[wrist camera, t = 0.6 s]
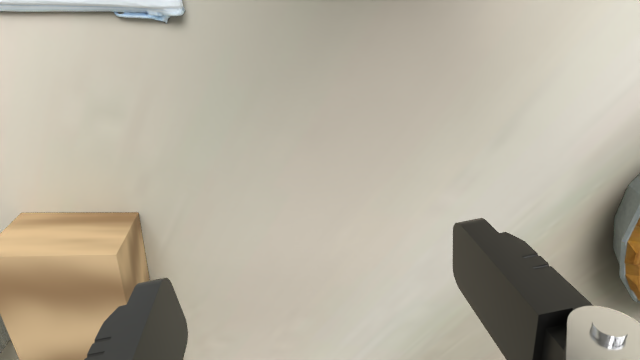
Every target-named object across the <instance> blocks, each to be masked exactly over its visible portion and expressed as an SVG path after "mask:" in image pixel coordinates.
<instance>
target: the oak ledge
mask: <svg viewBox="0 0 640 360" xmlns="http://www.w3.org/2000/svg"><path fill="white" fill-rule="evenodd" d="M147 281H150V279H149V273H148V267H147V261H146V255H145V249H144V243H143V237H142V231H141V224H140V218H139V213H21V214H20V215H19V216H18V217H17V218H16V219H15V220H14V221H13V222H12V223H11V224H10V225H9V226H8V227H7V228H6V229H5V230H3V231H2V232H1V233H0V314H1V317H2V319H3V322H4V324H5V326H6V329H7V331H8V334H9V336H10V338H11V341H12V343H13V345H14V348H15V350H16V353H17V355H18V357H19V360H84V359H85V358H87V353H88V351H89V349H90V347H91V345H92V344H93V343H95V341H94V340H95V338H96V336H97V334H98V332H99V330H100V328H101V326H102V324H103V322H104V321H105V320H106V319H107V318H108V317H109V316H110V315H111V314H112V313H113V312H114V311H115V310H116V309H117V308H118V307H119V306H123V305H127V302H128V300H129V298H130V296H131V294H132V292H133V290H134V287H135V286H136V285H137V284H138V283H142V282H147Z"/></svg>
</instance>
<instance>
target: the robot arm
mask: <svg viewBox="0 0 640 360" xmlns="http://www.w3.org/2000/svg"><path fill="white" fill-rule="evenodd" d="M453 272H454V277H455V280H456V283H457V285H458V287H459V289H460V291H461V292H462V294H463V295H464V297H465V298H466V300H467V301H468V303H469V304H470V306H471V307H472V309H473V310H474V312H475V313H476V315H477V316H478V318H479V319H480V321H481V322H482V324H483V325H484V327H485V328H486V330H487V331H488V333H489V334H490V336H491V337H492V339H493V340H494V342H495V343H496V345H497V346H498V348H499V349H500V351H501V352H502V354H503V355H504V357H505V358H506V360H640V323H639V322H638V321H636V320H635V319H633V318H632V317H630V316H628V315H626V314H624V313H622V312H620V311H617V310H614V309H611V308H607V307H602V306H593V305H592V304H591V303H590V302H589V301H588V300H587V299H586V298H585V297H584V296H582V295H581V294H580V293H579V292H578V291H577V290H576V289H575V288H574V287H573V286H572V285H571V284H570V283H569V282H567V281H566V280H565V279H564V278H563V277H562V276H561V275H560V274H559V273H558V272H557V271H556V270H555V269H554V268H552V267H551V266H550V267H549V265H548V263H547V262H546V261H545V260H544V259H543V258H542V257H541V256H538V255H537V253H536V252H535V251H534V250H533V249H532V248H531V247H530V246H529V245H528V244H527V243H526V242H525V241H523V240H521V239H519V238H517V237H515V236H513V235H511V234H509V233H507V232H503V233H498V232H497V231H496V230H495V229H494V228H493V227H492V226H491V225H490V224H489V223H488V222H487V221H486V220H485V219H483V218H480V219H474V220H469V221H464V222H459V223H455V225H454V227H453ZM187 339H188V330H187V323H186V319H185V317H184V314H183V311H182V309H181V306H180V304H179V301H178V299H177V296H176V294H175V291H174V289H173V286H172V284H171V282H170V280H169V279H168V278H163V279H158V280H152V281H147V282H142V283H138V284H137V285H136V286H135V287H134V290H133V292H132V294H131V296H130V298H129V300H128V302H127V305H123V306H119V307H118V308H117V309H116V310H115V311H114V312H113V313H112V314H111V315H110V316H109V317H108V318H107V319H106V320H105V321H104V322H103V324H102V326H101V328H100V330H99V332H98V334H97V336H96V338H95V340H94V341H95V343H93V344H92V345H91V347H90V349H89V351H88V353H87V358H85V359H84V360H183V357H184V353H185V349H186V345H187Z"/></svg>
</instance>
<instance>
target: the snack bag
mask: <svg viewBox="0 0 640 360" xmlns="http://www.w3.org/2000/svg"><path fill="white" fill-rule="evenodd" d="M0 11H17V12H52V11H111V12H114V13H115V15H116V16H118V17H127V18H145V19H146V18H151V19H154V20H158V21H164V22H165V23H166V24H167V21H168V18H169V17H170V16H181V15H183V13H184V12H185V10H184V8H183V3H182V0H0ZM118 12H124V14H118Z"/></svg>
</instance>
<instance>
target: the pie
mask: <svg viewBox="0 0 640 360" xmlns="http://www.w3.org/2000/svg"><path fill="white" fill-rule="evenodd" d="M613 249H614V252H615V255H616V257H617V260H618V262H619V265H620V270H619V276H620V278H621V280H622V282H623V283H624V285H625V287H626V289H627V290H628V292H629V294H630V296H631V298H632V299H633V301H635V302H637V303H640V174H639V175H638V176H637V177H636V178H635V179H634V180H633V181H632V182H631V183H630V184H629V185H628V187H627V189H626V192H625V194H624V196H623V199H622V201H621V203H620V206H619V208H618V210H617V213H616V215H615V217H614V240H613Z"/></svg>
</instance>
